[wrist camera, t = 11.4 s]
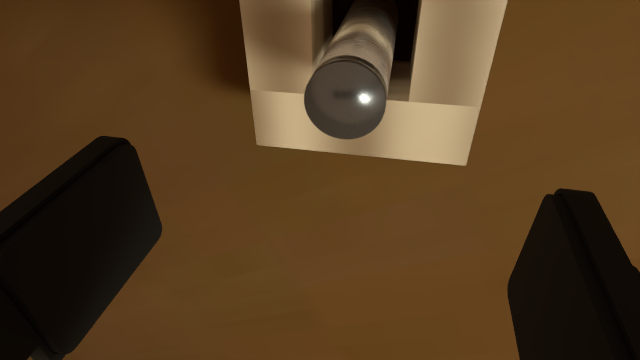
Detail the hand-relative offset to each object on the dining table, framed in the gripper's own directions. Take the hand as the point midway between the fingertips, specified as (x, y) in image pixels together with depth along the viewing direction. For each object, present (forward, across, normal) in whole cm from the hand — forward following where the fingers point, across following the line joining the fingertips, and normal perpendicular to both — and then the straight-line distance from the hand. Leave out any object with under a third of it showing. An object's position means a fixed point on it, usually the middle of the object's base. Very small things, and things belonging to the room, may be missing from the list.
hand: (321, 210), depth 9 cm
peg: (+18, +1, 0) cm, 18 cm away
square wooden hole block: (+18, +1, 0) cm, 18 cm away
